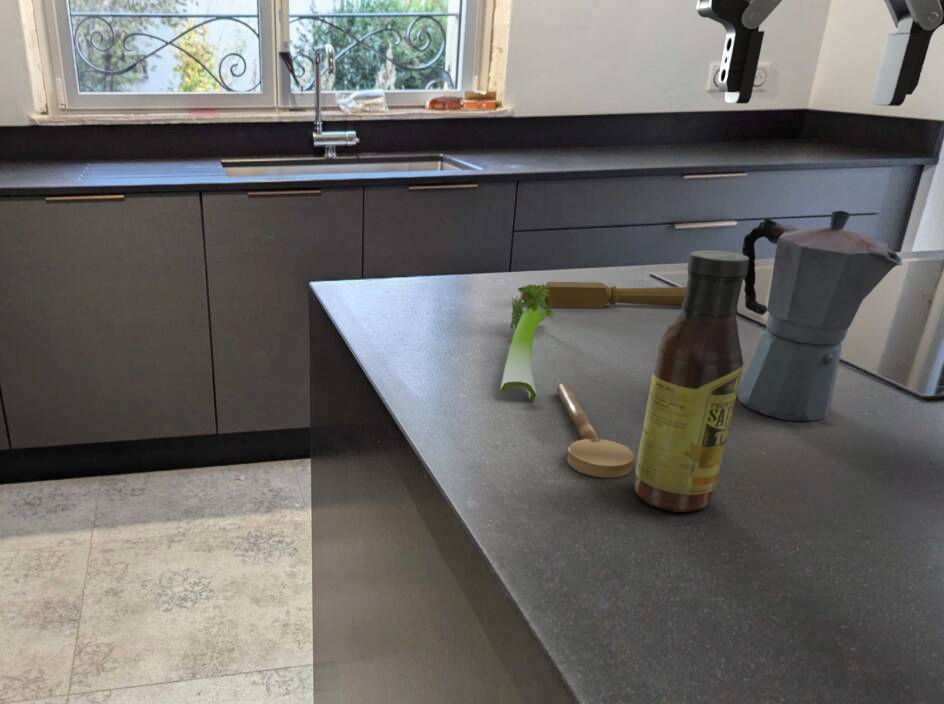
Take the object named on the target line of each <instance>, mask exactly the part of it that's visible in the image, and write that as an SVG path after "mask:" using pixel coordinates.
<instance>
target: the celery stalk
mask: <svg viewBox="0 0 944 704" xmlns="http://www.w3.org/2000/svg"><path fill="white" fill-rule="evenodd" d="M529 285H530V286H529V287H527V285H523V286H521V287H518V288H517V291H518V292H519V294H520V296H519V297H518V295H516V296H515V298H514V297H513V296H512V297H511V301H510V303H511V305H512V307H511V308H512V312H511V322H510V330H513V329H514V328H515V331H514V334H513V336H512V339H511V342H510V346H509V348H508V352H507V353H508V354H507V357H506V361H505V365H504V369H503V375H502V380H501V385H500V388H499V389H500V390H499V392H506V390H507V389H508V388H509V387H523V388H525V389H527V395H528V399H529V401H530V402H531V403H533V404H534V401H535V400H536V396H537V391H536V386H535V382H534V378H533V377H534V376H533V373H532V348H533V342H534V336H535V333H536V331H537V328H538V326H539V324H542V323H543V321H544V320H545V318H546V317H548V318H549V319H550V320H552V319H554V318H556V316H555V312H553V311H552V308H550V307H549V306H548V305H546V302H545V301H544V300H545V299H546V298H545V297H544V296H549V295H548V294H547V293H548V292H549V291H548V290H546V288H548V286H547V285H546V284H544V283H543V282H542V283H541V285H540V284H537V285H536V284H534V285H535V286H532V285H533V284H529ZM525 286H526V287H525ZM542 286H543V287H542ZM524 287H525V288H524ZM541 287H542V288H544V287H546V288H544V289H543V290H542V288H541ZM526 289H527V290H526ZM539 289H541V290H539ZM528 290H529V291H528ZM523 292H525V294H529V295H528V296H530V297H528V298H529V299H530V301H529V300H528V301H527V302H524V301H523V300H522V295H523ZM531 296H532V299H531ZM542 302H543V303H542ZM542 304H543V307H544V308H542V311H541V312H540V309H541V306H542ZM549 305H550V304H549ZM523 306H525V308H526V307H527V308H526V309H525V310H524V309H523ZM514 326H515V327H514Z"/></svg>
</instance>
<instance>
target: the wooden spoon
mask: <svg viewBox="0 0 944 704" xmlns="http://www.w3.org/2000/svg"><path fill="white" fill-rule="evenodd" d="M556 392H557V395H558V396H559V398H560V400H561V402H562V404H563V406H564V409H565V410H566V412H567V414H568V416H569V417H570V419H571V421H572V423H573V426H574V427H575V429H576V431H577V432H578V434H579V437H580V438H581V439H578V440H576V441H573V442H572V443H571V444H570V445H569V446H568V450H567V458H566V460H567V464H568V465H569V466H570V467H571V468H572V469H573V470H574V471H576V472H579V473H581V474H583V475H586V476H591V477H595V478H605V479H612V478H620V477H624V476H627V475H628V474H630V473H631V472H632V470H633V465H634V461H635V454H634V452H633V450H631V449H630V448H628V447H627V446H626V445H624V444H621V443H619V442H616V441H612V440H607V439H601V438H600V437H599V435H598V434H597V432H596V430H595V428H594V426H593V424H592V423H591V421H590V420H589V418H588V416H587V415H586V413H585V411H584V409H583V408H582V406H581V404H580V402H579V400H578V399H577V397H576V395H575V393H574V391H573V390H572V388H571V386H570V385H569V384H568V383H566V382H562V383H560V384H558V385H557V386H556Z"/></svg>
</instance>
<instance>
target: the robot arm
mask: <svg viewBox="0 0 944 704" xmlns="http://www.w3.org/2000/svg"><path fill="white" fill-rule="evenodd" d="M782 1H783V0H697V4H696V11H697V15H698V16H700V17H701V18H705V19H706V18H708V19H710V20H712V21H715V22H717V23H719V24H721V25H722V26H723V27H724V30H725V40H724V41H725V42H724V46H723V51H722V52H723V53H722V58H721V64H720V67H719V73H718V78H717V85H718V91H719V92H724V101H725V103H729V104H749V102H750V101H751V98H752V95H753V90H754V85H755V81H756V75H757V70H758V65H759V61H760V56H761V51H762V45H763V41H764V36H765V30H760V27H761V25H762V24H763V23H764V22H765V21H766V20H767V18H768V17H769V16H770V15H771V14H772V13H773V12H774V11H775V9H776V8H777V7H778V6H779V5H780V4H781V3H782ZM883 1H884V3H885V5H886V7H887V9H888V12H889V14H890V16H891V19H892V22H893V23H894V26H895V28H896V31H895V33H888V35H887V40H886V43H885V47H884V49H883V50H884V51H883V53H882V58H881V62H880V66H879V69H878V73H877V78H876V81H875V84H874V88H873V93H872V97H871V102H872V104H873V105H874V106H883V107H900V106H901V105H903V104H904V103H905V100H906V97H907V96H912V95H913V93H914V91H915V90H916V88H917V86H918V85H919V83H920V78H921V73H922V71H923V67H924V64H925V61H926V57H927V53H928V50H929V46H930V43H931V39H932V37H933V34H934V33H935V32H936V31H937V30H938V29H939V28H940V27H942V26H943V25H944V0H883Z"/></svg>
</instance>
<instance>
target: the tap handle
mask: <svg viewBox="0 0 944 704" xmlns="http://www.w3.org/2000/svg"><path fill="white" fill-rule="evenodd" d="M530 285H532V286H535V285H536V284H527V285H524V288H525V287H526V286H527V287H529V286H530ZM545 285H547V286H548V288H546V287H544V288H546V290H548V291H549V292H548V293H547V294H548V295H549V296H544V297H545V298H546V299H545V300H544V301H545V302H546V305H548V306H549V307H550V309H604V308H605V307H606V306H607V305H608V304H609V305H611V306H614V305H616V304H627V305H628V304H629V305H630V304H631V305H649V306H651V305H652V306H668V307H670V306H671V307H682V302H683V301H684V298H685V293H686V288H687V286H666V287H665V286H663V287H662V286H661V287H622V288H621V287H619V288H618V287H617V286H616V285H613V286H610V287H609V286H608V285H607V284H605V283H602V282H597V281H595V282H594V281H593V282H592V281H591V282H590V281H588V282H587V281H586V282H585V281H584V282H583V281H547V282H546V283H545ZM542 287H543V286H542ZM542 287H541V288H542ZM544 288H542V290H543V289H544ZM526 290H527V289H526ZM539 290H541V289H539ZM528 291H529V290H528ZM528 295H529V294H525V292H523V295H522V302H523V303H524V302H527V301H528V300H529V301H530V299H529V298H528V297H530V296H528ZM531 299H532V296H531ZM541 304H544V303H543V302H542V303H541ZM549 304H550V305H549Z"/></svg>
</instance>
